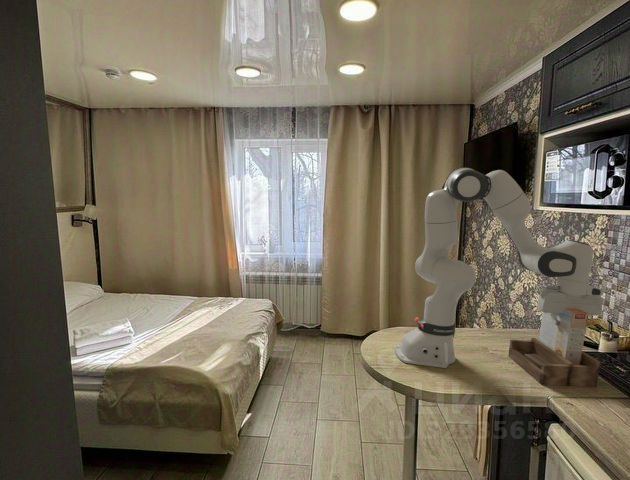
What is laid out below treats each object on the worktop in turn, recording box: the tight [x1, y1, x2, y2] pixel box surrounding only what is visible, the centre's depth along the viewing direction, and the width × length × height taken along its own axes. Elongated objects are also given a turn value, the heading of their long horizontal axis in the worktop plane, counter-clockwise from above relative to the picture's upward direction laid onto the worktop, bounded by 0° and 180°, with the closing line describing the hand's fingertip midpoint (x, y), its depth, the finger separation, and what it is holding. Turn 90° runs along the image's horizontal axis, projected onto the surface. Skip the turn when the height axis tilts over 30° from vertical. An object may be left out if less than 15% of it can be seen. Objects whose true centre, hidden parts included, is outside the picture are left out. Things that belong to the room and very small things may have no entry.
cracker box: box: [538, 309, 589, 365], centre depth 122 cm, size 14×6×21 cm, turn 0°
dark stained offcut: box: [524, 354, 551, 369], centre depth 122 cm, size 4×8×2 cm, turn 7°
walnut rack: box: [507, 337, 601, 388], centre depth 122 cm, size 18×20×10 cm
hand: (565, 325), depth 120 cm, fingers closed on cracker box, 6 cm apart
